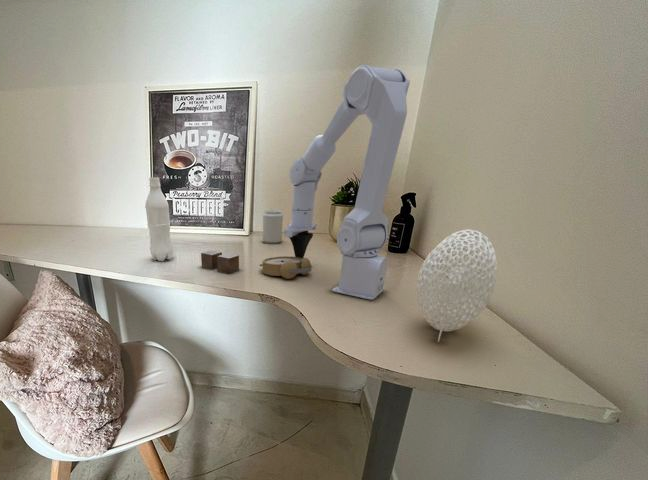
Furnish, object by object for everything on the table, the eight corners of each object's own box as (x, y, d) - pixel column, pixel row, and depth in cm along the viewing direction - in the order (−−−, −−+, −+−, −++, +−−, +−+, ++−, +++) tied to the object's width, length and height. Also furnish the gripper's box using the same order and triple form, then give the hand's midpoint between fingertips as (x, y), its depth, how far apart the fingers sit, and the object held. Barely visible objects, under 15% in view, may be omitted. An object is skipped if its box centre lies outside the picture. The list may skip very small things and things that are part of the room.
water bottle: (175, 260, 108) (168, 177, 98) (153, 263, 106) (143, 178, 96) (170, 255, 114) (163, 176, 104) (149, 258, 112) (140, 177, 102)
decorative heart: (419, 308, 69) (438, 223, 62) (482, 321, 63) (511, 228, 56) (395, 341, 56) (417, 239, 49) (471, 361, 50) (508, 248, 43)
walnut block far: (222, 266, 101) (221, 252, 99) (212, 269, 98) (211, 255, 96) (211, 264, 103) (211, 250, 101) (201, 267, 100) (200, 252, 98)
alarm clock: (282, 254, 100) (322, 255, 88) (283, 271, 101) (322, 273, 89) (253, 261, 94) (291, 262, 82) (255, 278, 96) (293, 282, 83)
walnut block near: (239, 270, 97) (239, 255, 95) (229, 273, 94) (229, 258, 92) (227, 267, 99) (227, 253, 98) (217, 271, 96) (217, 256, 94)
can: (259, 240, 134) (260, 209, 129) (276, 239, 136) (277, 208, 131) (267, 244, 128) (268, 212, 123) (284, 243, 130) (286, 210, 125)
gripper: (302, 206, 98) (299, 251, 103) (275, 211, 88) (273, 261, 93) (325, 207, 94) (320, 255, 99) (299, 213, 84) (295, 265, 89)
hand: (299, 258), depth 96 cm, fingers closed
